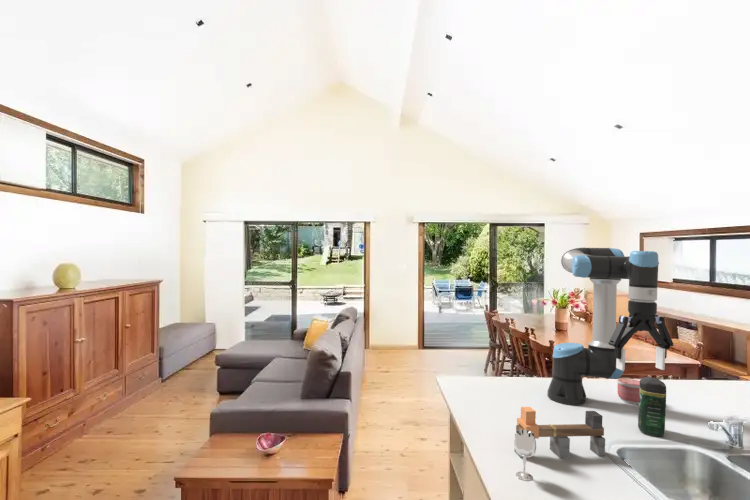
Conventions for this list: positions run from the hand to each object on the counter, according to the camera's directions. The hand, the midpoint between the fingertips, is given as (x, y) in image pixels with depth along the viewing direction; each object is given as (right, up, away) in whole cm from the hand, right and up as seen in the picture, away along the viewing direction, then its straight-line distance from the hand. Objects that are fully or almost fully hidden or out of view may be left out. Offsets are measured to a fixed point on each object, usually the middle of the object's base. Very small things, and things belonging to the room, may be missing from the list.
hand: (640, 369), depth 130 cm
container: (+26, -28, +48) cm, 62 cm away
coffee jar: (+15, -27, +18) cm, 36 cm away
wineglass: (-41, -26, -13) cm, 50 cm away
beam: (-25, -26, 0) cm, 36 cm away
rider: (-35, -20, -1) cm, 40 cm away
